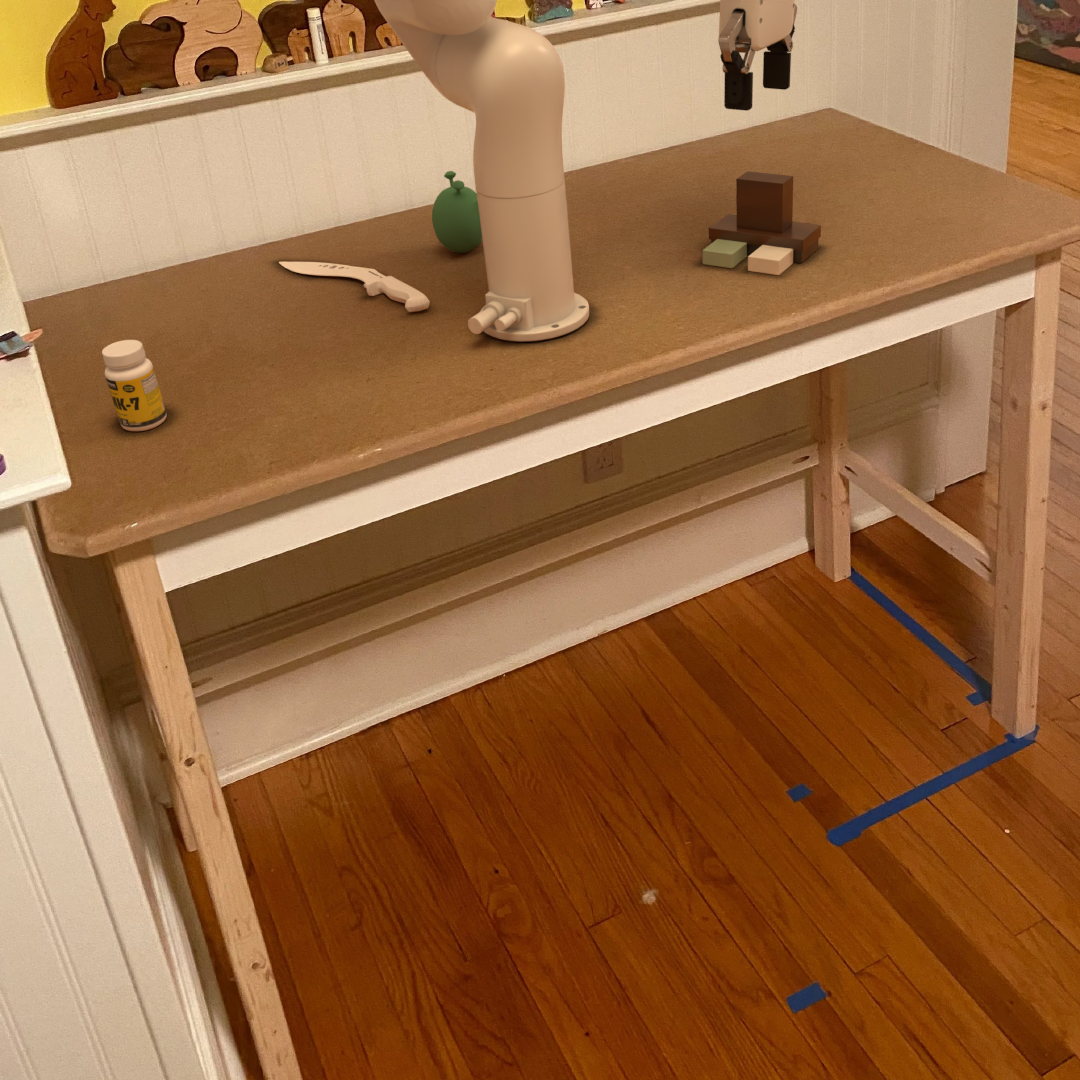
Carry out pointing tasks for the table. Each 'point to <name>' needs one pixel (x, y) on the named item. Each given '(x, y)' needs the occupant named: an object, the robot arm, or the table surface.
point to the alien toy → (457, 217)
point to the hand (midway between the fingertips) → (757, 98)
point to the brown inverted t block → (766, 217)
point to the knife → (371, 277)
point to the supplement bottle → (133, 386)
